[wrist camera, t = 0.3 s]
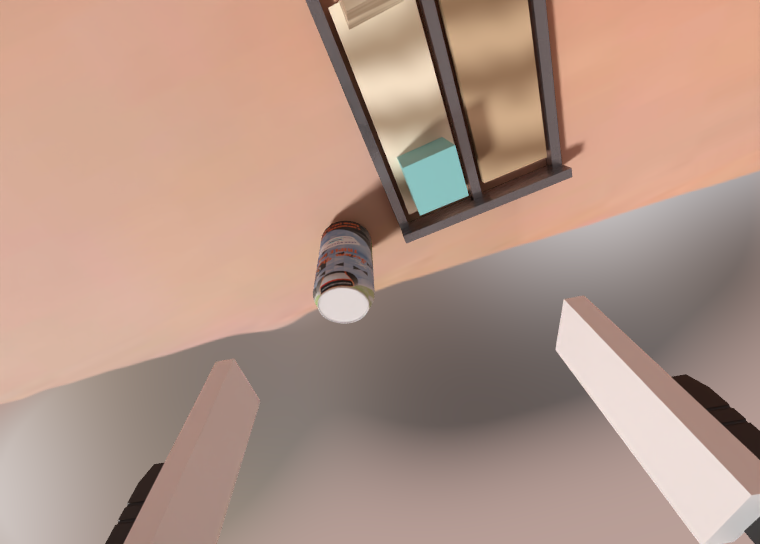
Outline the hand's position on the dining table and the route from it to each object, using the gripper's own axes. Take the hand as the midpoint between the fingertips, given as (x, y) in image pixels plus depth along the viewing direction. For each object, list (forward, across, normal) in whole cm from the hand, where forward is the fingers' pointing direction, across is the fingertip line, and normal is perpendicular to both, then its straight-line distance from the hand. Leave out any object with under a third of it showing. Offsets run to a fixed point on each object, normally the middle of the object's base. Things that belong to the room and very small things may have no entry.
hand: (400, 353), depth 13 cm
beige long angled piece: (+26, +5, +6) cm, 27 cm away
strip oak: (+26, +13, +8) cm, 31 cm away
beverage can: (+26, -5, -7) cm, 28 cm away
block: (+25, +6, 0) cm, 26 cm away
